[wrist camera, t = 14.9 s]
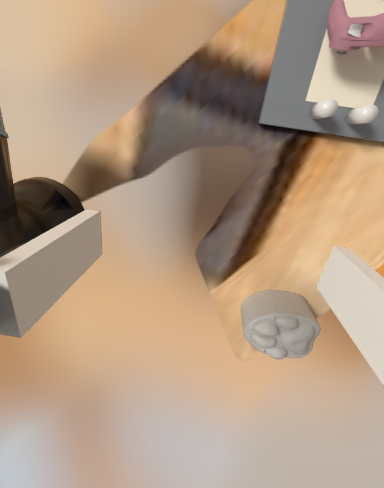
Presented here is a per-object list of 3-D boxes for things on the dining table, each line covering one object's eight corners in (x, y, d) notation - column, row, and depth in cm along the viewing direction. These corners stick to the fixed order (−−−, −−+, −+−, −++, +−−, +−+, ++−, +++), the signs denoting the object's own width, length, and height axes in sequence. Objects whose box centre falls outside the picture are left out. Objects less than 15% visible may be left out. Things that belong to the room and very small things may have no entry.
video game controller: (315, 46, 31) (329, 61, 27) (329, -4, 28) (349, 4, 23) (394, 44, 30) (422, 60, 26) (419, -7, 27) (457, 1, 22)
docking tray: (258, 123, 35) (264, 121, 31) (302, -70, 27) (321, -115, 22) (392, 143, 35) (419, 144, 30) (480, -48, 26) (538, -89, 22)
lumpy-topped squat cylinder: (295, 333, 51) (310, 368, 43) (236, 324, 52) (239, 357, 44) (310, 294, 47) (329, 326, 39) (245, 285, 47) (251, 314, 40)
